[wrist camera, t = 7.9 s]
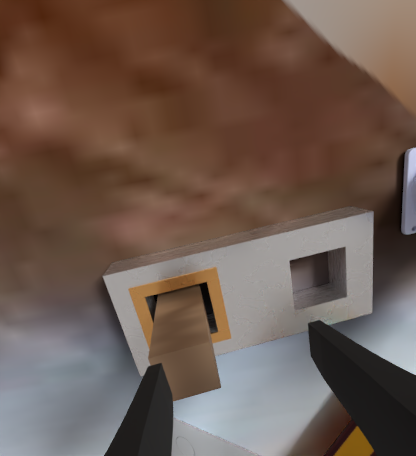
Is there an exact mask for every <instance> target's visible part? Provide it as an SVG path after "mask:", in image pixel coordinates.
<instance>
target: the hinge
mask: <svg viewBox="0 0 416 456" xmlns="http://www.w3.org/2000/svg"><path fill="white" fill-rule="evenodd" d="M171 456H260V455H258V454H256V453H253V452H251V451H249V450H247V449H244V448H242V447H240V446H237V445H235V444H233V443H231V442H228V441H226V440H224V439H221V438H219V437H217V436H215V435H212V434H210V433H208V432H205V431H203V430H201V429H199V428H196V427H194V426H192V425H189V424H187V423H185V422H183V421H180V420H178V419H176V418H173V437H172V453H171Z"/></svg>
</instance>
